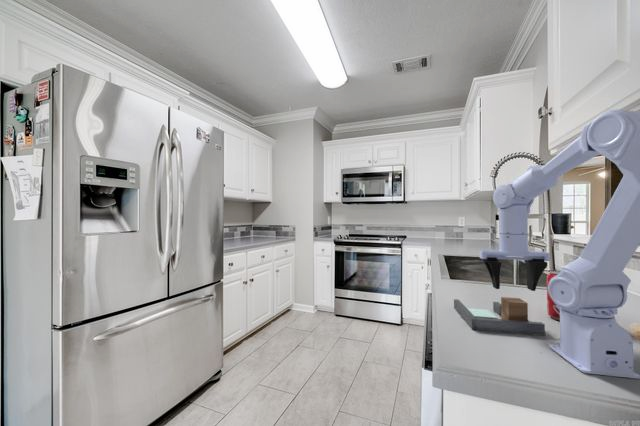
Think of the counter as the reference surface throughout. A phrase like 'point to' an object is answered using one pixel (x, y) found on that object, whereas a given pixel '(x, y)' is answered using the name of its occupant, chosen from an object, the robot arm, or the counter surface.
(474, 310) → the pad
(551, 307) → the beverage can
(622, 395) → the counter surface
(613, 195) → the robot arm
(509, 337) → the counter surface
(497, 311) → the grey flat frame
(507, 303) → the walnut block
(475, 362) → the counter surface
